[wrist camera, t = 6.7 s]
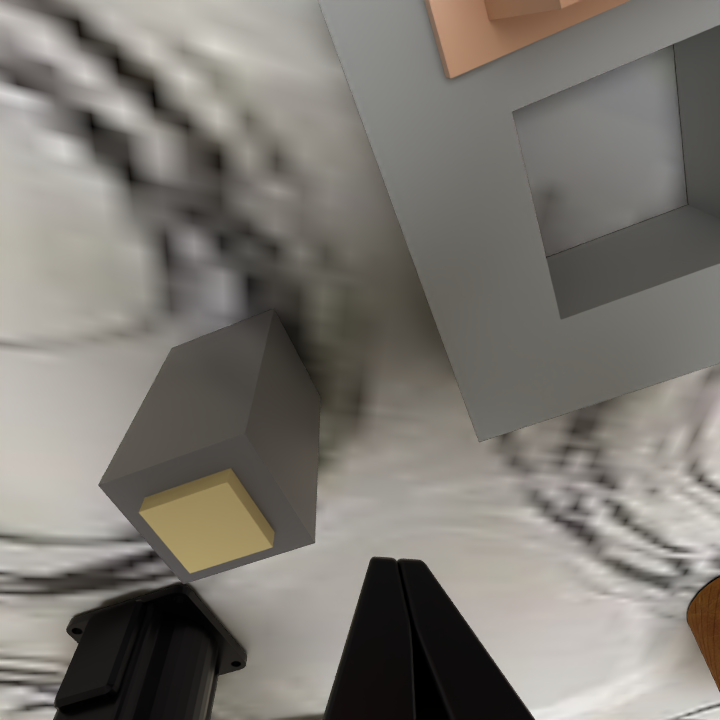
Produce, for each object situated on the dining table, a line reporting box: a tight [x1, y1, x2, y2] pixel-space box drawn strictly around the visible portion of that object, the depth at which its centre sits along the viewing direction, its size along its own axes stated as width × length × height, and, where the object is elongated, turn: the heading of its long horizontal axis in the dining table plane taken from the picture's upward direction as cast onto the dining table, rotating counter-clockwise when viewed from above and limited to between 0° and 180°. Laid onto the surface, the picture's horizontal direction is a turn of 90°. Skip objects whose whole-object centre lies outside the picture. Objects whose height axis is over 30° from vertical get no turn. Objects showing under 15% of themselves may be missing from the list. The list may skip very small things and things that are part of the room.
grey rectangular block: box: [98, 309, 321, 584], centre depth 17 cm, size 4×4×8 cm
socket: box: [318, 0, 720, 442], centre depth 14 cm, size 16×12×4 cm
